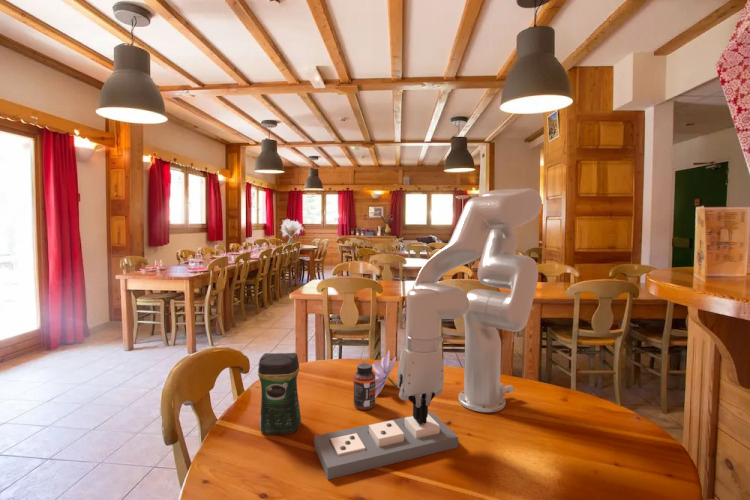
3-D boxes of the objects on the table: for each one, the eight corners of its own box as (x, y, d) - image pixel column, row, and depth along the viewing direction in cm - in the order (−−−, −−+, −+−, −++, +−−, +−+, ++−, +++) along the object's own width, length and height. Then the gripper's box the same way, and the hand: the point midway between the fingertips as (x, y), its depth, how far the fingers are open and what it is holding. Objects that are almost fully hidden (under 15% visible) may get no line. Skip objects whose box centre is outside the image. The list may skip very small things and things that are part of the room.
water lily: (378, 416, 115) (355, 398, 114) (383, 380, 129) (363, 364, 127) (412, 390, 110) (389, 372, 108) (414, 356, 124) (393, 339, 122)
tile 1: (426, 422, 95) (427, 412, 95) (439, 435, 90) (439, 424, 90) (404, 427, 93) (404, 416, 93) (416, 440, 88) (416, 429, 88)
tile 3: (356, 443, 89) (356, 432, 89) (365, 458, 84) (365, 446, 83) (330, 448, 87) (330, 437, 87) (338, 464, 81) (338, 453, 81)
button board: (431, 421, 99) (431, 411, 99) (458, 447, 88) (458, 436, 88) (314, 446, 89) (314, 435, 89) (327, 479, 78) (327, 467, 77)
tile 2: (392, 429, 92) (392, 419, 92) (403, 443, 87) (403, 432, 86) (368, 435, 90) (368, 424, 90) (378, 449, 85) (378, 438, 84)
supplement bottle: (373, 411, 104) (372, 370, 103) (351, 409, 106) (350, 368, 105) (377, 401, 110) (377, 362, 109) (356, 399, 111) (356, 360, 110)
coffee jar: (303, 418, 101) (301, 348, 99) (297, 436, 93) (295, 359, 91) (265, 419, 101) (263, 348, 99) (256, 436, 93) (254, 360, 91)
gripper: (442, 335, 96) (440, 408, 97) (385, 341, 90) (384, 418, 92) (459, 344, 89) (456, 423, 90) (399, 351, 83) (397, 435, 85)
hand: (420, 420), depth 91 cm, fingers closed
